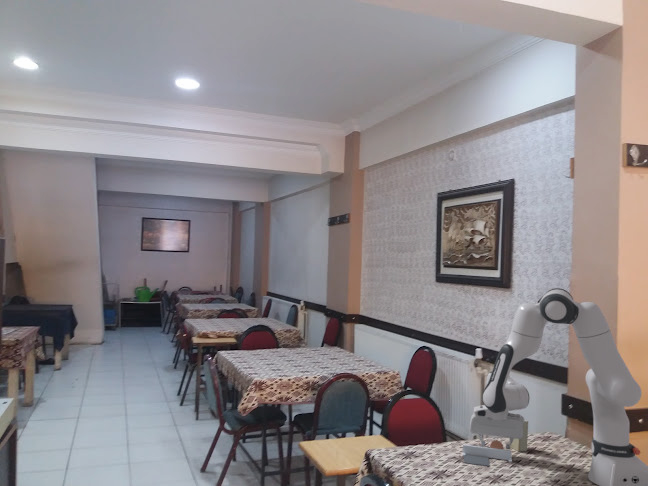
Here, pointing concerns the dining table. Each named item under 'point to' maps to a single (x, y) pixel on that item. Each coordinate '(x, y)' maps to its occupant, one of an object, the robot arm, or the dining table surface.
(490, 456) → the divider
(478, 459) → the coaster
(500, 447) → the ball
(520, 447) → the skincare box
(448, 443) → the dining table surface
